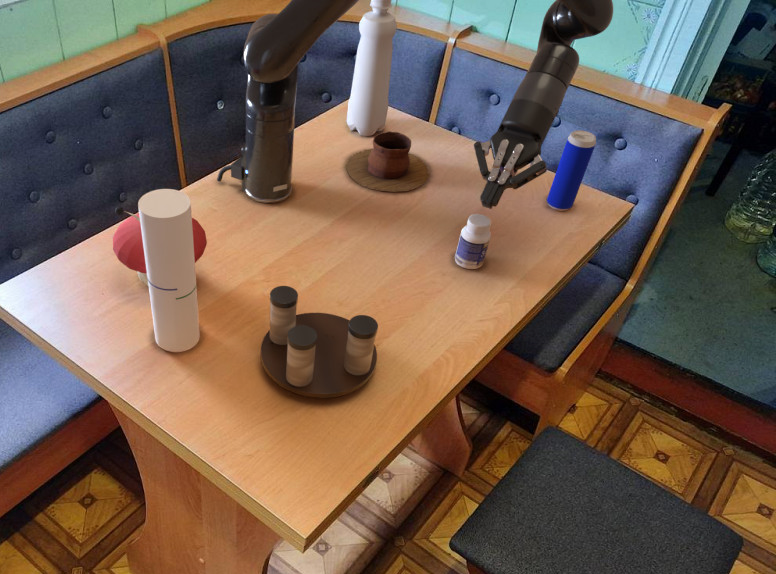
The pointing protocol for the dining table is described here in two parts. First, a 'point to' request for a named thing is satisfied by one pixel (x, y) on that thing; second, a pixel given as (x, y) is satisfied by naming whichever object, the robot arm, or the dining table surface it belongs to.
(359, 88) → the bottle
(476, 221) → the pill bottle
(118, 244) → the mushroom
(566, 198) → the beverage can
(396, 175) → the ceramic pot
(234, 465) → the dining table surface
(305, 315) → the spice rack
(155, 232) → the cylindrical container
